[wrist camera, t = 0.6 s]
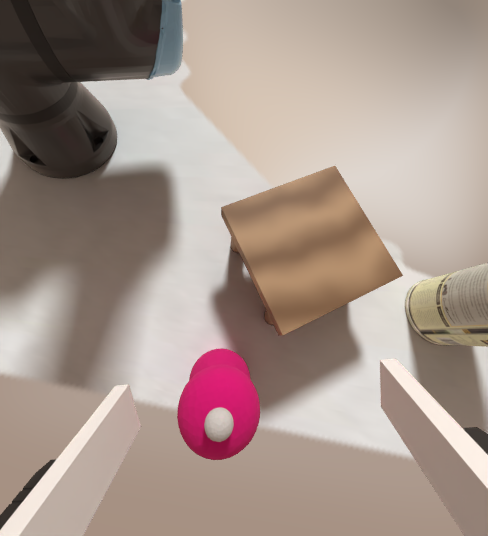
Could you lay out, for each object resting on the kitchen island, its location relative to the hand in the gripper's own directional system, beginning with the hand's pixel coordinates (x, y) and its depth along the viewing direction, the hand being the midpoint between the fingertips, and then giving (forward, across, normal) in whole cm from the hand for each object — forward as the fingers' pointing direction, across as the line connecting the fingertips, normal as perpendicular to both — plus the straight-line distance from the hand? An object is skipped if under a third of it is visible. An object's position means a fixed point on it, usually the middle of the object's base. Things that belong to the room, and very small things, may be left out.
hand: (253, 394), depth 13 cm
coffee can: (+26, +27, -10) cm, 39 cm away
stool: (+27, +6, 0) cm, 27 cm away
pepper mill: (+18, -6, -12) cm, 23 cm away
